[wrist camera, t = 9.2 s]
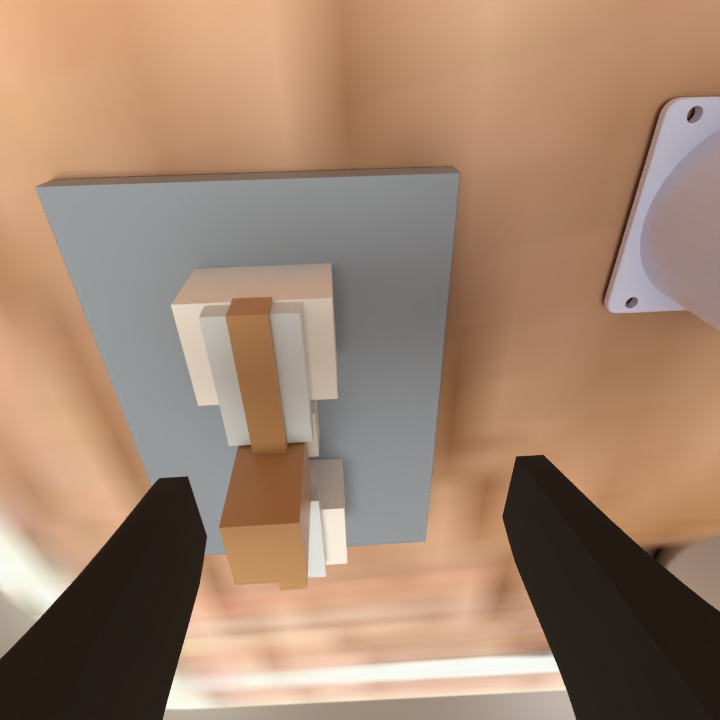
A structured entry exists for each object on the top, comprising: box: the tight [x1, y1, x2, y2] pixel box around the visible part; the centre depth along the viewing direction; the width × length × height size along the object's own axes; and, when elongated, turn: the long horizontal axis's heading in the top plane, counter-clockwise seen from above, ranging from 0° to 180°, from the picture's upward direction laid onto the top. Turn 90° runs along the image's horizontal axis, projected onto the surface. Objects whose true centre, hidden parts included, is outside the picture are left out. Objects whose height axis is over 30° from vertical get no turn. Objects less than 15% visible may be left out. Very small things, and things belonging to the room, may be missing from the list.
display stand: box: [35, 166, 460, 565], centre depth 20 cm, size 14×20×4 cm
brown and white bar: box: [199, 297, 326, 590], centre depth 16 cm, size 3×14×4 cm, turn 1°
